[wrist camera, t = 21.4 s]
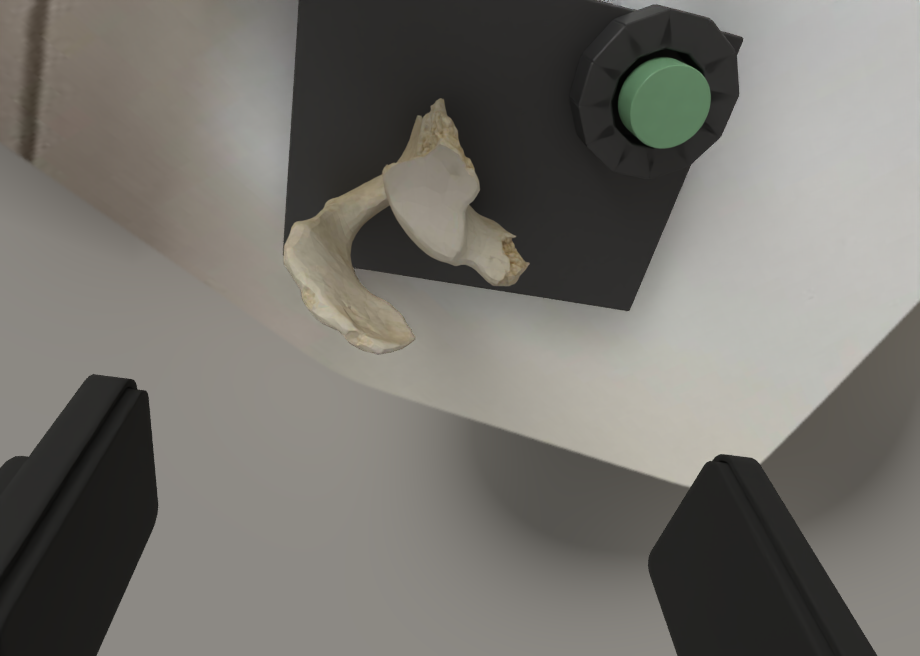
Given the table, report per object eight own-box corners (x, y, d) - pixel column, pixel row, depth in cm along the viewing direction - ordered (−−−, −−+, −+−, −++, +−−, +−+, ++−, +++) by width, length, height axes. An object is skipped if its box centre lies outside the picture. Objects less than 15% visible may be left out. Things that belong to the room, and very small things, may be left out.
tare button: (706, 66, 22) (725, 74, 20) (675, 143, 23) (691, 156, 22) (633, 48, 21) (647, 56, 20) (606, 129, 23) (618, 140, 21)
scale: (732, 23, 23) (771, 33, 21) (621, 297, 30) (640, 330, 27) (310, -83, 21) (295, -86, 18) (287, 243, 27) (275, 274, 25)
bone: (573, 104, 22) (555, 355, 17) (519, 211, 27) (495, 421, 23) (334, 36, 21) (247, 286, 16) (330, 163, 26) (264, 374, 22)
